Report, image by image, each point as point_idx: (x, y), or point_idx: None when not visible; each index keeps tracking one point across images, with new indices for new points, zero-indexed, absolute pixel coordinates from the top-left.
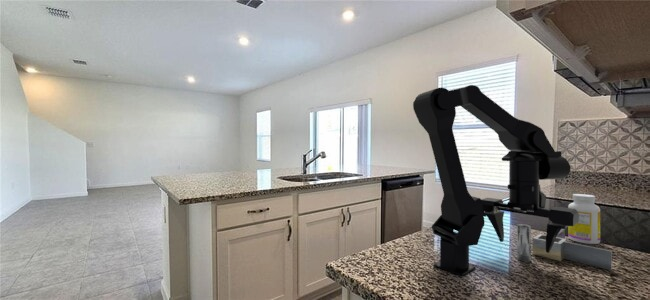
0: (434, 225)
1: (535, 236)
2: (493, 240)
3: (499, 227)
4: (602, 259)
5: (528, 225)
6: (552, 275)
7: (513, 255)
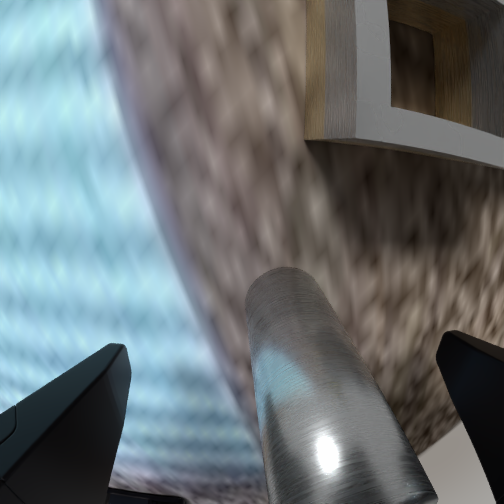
0: None
1: (356, 36)
2: (9, 57)
3: (94, 499)
4: None
5: (418, 501)
6: (408, 388)
7: (210, 277)
